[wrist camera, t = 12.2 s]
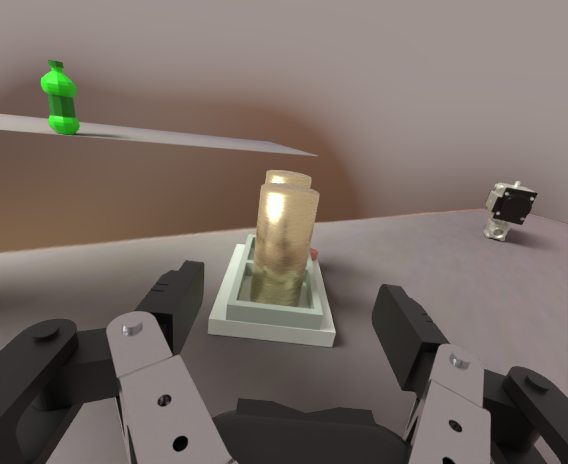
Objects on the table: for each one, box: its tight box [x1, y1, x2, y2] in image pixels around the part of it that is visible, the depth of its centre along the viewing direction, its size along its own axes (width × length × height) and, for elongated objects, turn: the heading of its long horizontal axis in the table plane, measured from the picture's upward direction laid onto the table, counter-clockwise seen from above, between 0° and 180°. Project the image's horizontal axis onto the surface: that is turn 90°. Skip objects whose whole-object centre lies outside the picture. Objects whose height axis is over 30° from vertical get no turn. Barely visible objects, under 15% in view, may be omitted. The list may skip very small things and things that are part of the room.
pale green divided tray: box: [208, 234, 336, 347], centre depth 28 cm, size 10×14×3 cm
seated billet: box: [265, 170, 311, 188], centre depth 29 cm, size 4×4×10 cm
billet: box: [250, 183, 319, 307], centre depth 23 cm, size 4×4×10 cm
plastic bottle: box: [41, 60, 80, 135], centre depth 105 cm, size 10×10×25 cm
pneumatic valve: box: [483, 181, 537, 241], centre depth 56 cm, size 6×12×12 cm, turn 152°
